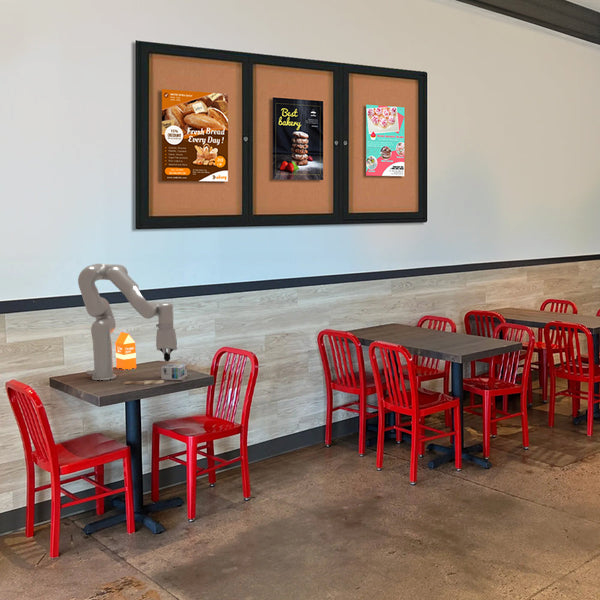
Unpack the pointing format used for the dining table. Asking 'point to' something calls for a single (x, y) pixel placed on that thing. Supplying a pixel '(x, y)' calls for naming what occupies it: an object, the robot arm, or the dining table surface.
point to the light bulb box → (173, 371)
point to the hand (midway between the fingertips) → (167, 361)
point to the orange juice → (125, 352)
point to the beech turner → (146, 382)
